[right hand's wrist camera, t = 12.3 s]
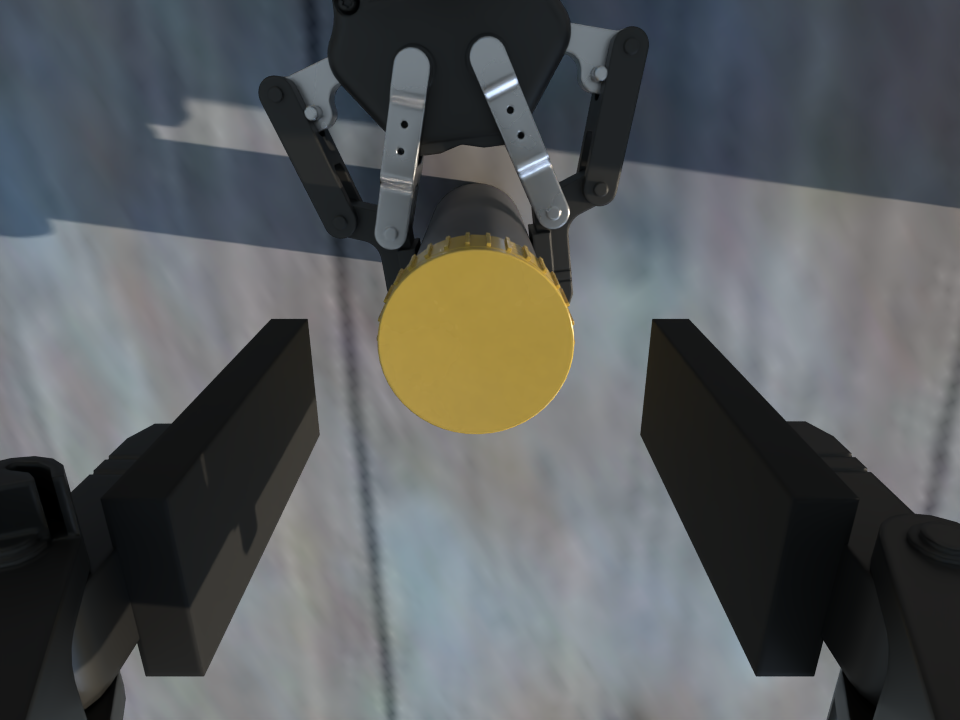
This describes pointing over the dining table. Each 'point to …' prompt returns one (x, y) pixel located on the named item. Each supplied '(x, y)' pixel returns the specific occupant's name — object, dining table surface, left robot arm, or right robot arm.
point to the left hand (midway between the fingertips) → (485, 323)
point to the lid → (475, 334)
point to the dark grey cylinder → (476, 216)
